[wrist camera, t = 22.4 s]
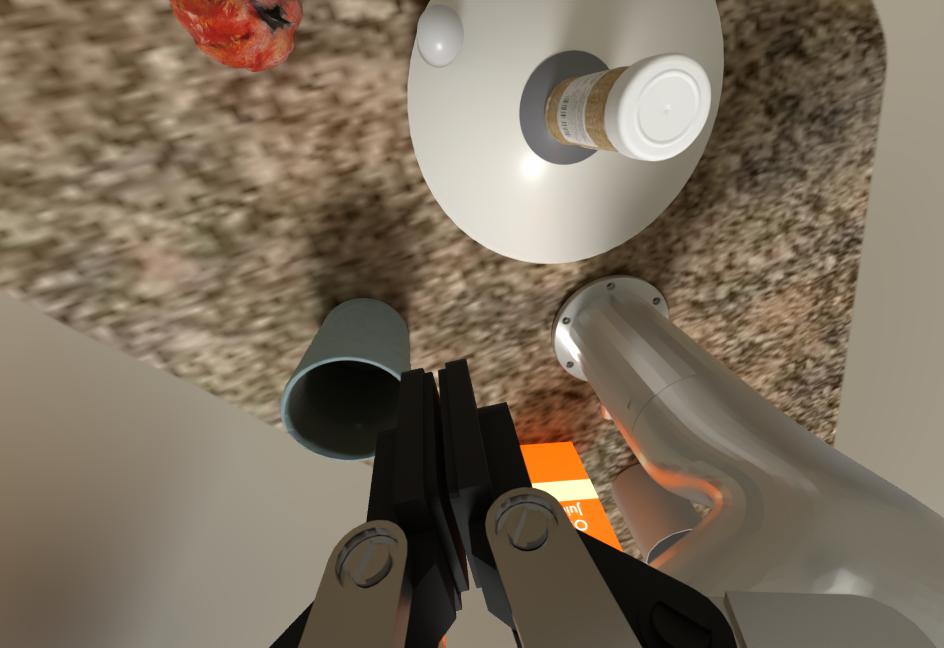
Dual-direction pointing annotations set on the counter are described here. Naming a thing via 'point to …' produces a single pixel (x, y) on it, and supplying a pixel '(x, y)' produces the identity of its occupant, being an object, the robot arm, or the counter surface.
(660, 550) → the cup
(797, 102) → the counter surface
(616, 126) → the sprinkles bottle
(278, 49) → the pomegranate
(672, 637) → the robot arm
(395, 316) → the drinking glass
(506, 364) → the counter surface
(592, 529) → the orange juice
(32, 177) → the counter surface
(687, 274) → the counter surface
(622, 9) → the turntable
